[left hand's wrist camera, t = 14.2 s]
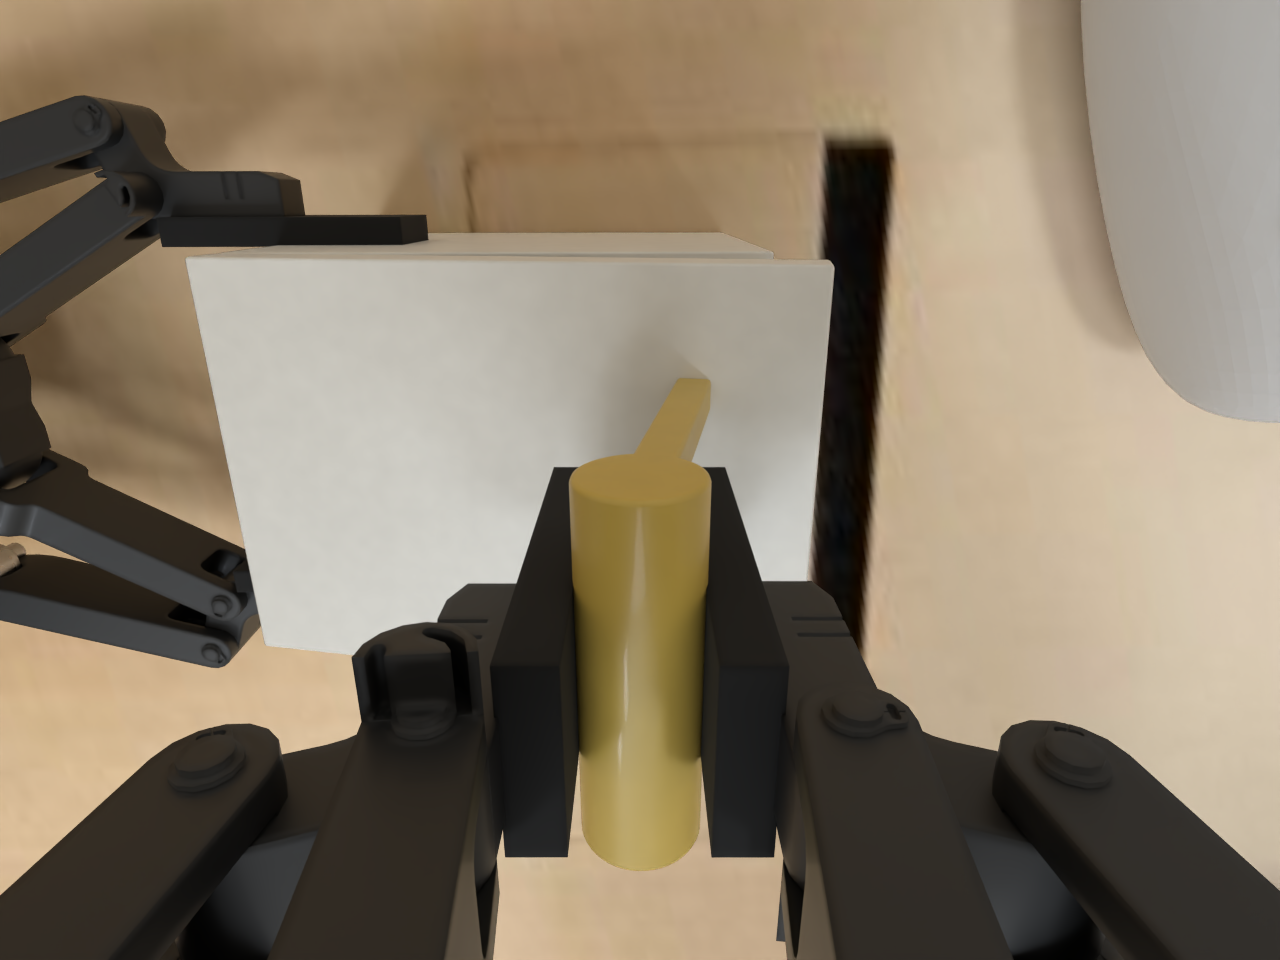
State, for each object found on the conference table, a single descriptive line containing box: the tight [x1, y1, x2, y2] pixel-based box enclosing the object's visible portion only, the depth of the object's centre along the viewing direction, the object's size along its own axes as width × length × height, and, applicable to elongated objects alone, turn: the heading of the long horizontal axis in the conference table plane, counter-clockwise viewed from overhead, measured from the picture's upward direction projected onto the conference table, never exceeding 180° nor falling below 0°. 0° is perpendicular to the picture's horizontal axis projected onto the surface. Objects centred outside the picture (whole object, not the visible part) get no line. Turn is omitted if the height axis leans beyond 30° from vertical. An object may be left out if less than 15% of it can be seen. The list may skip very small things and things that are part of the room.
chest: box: [223, 232, 774, 259], centre depth 24 cm, size 13×10×11 cm
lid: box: [185, 253, 834, 871], centre depth 14 cm, size 14×10×8 cm
